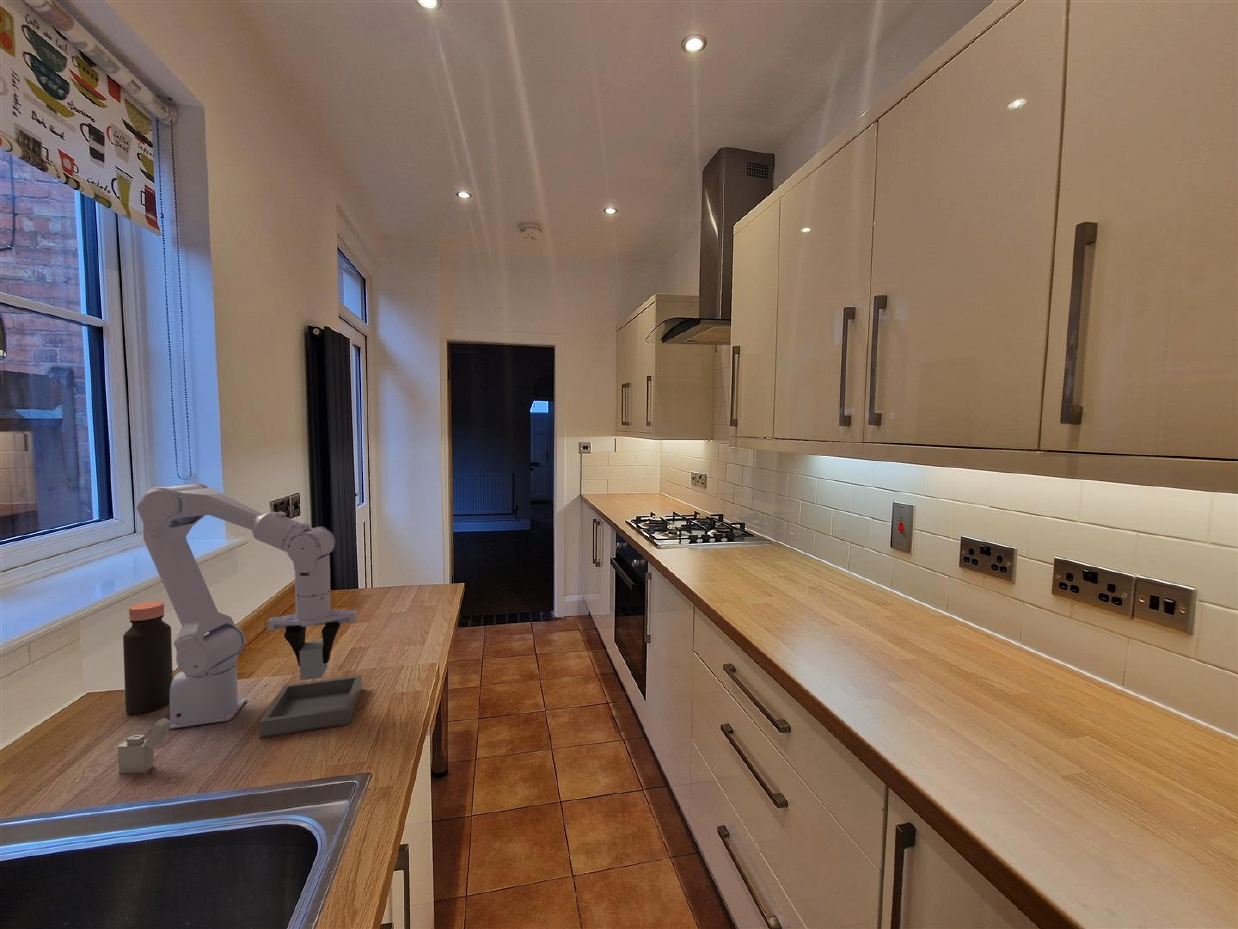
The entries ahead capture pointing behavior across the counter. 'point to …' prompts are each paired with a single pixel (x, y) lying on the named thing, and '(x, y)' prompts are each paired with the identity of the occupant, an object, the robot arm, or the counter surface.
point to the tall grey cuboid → (312, 660)
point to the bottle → (147, 659)
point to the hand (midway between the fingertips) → (314, 662)
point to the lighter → (141, 749)
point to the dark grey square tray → (311, 706)
